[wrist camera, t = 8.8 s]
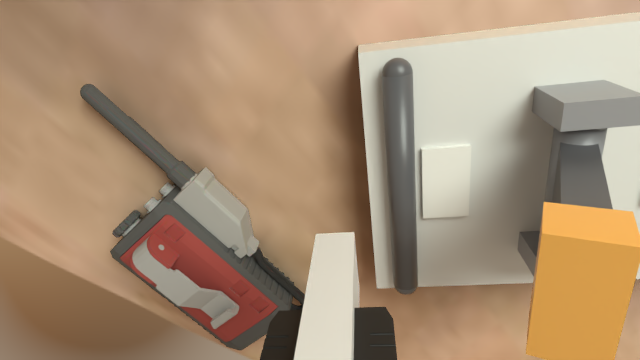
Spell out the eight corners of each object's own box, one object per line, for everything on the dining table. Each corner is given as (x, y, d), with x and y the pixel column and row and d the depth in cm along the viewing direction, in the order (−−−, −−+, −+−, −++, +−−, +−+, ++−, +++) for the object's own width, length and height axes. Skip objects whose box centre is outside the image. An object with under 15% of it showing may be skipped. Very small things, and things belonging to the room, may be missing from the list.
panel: (358, 44, 21) (357, 63, 16) (762, -3, 19) (925, 0, 13) (375, 258, 27) (378, 325, 22) (684, 244, 25) (775, 316, 19)
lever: (549, 118, 19) (543, 218, 12) (610, 120, 18) (648, 232, 10) (535, 226, 21) (524, 363, 14) (589, 233, 20) (606, 387, 13)
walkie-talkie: (333, 279, 29) (107, 69, 23) (328, 326, 25) (55, 85, 19) (251, 334, 32) (35, 158, 27) (236, 383, 28) (-21, 188, 23)
